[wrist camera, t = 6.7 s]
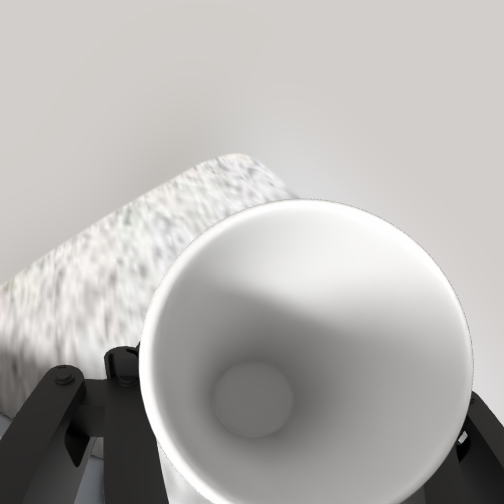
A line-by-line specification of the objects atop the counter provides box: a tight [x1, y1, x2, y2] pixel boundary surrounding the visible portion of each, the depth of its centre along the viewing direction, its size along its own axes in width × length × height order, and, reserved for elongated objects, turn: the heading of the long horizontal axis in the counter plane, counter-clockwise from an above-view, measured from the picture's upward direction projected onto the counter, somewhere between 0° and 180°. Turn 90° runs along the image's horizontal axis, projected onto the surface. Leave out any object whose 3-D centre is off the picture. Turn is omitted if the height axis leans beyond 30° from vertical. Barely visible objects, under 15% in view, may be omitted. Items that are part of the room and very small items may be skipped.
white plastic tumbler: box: [139, 199, 473, 504], centre depth 11 cm, size 7×7×15 cm
